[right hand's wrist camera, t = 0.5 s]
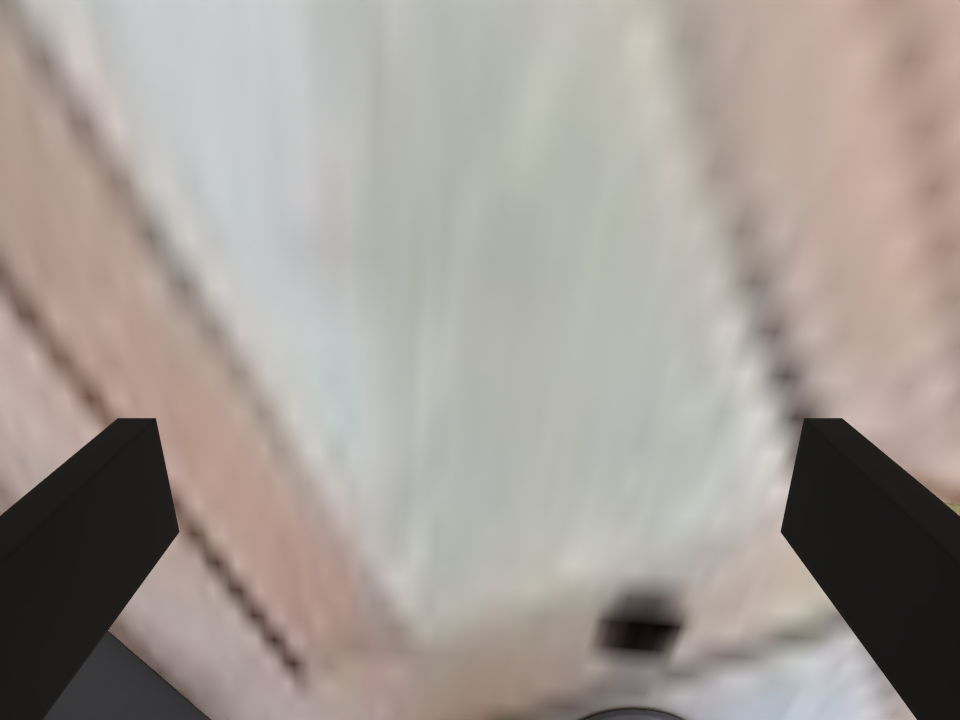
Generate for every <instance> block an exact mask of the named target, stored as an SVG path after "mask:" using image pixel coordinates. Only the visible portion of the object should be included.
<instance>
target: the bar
mask: <svg viewBox="0 0 960 720" xmlns="http://www.w3.org/2000/svg"><path fill="white" fill-rule="evenodd" d="M43 720H210V719H208V718H207V717H206V716H205V715H204V714H203V713H202V712H200V711H199V710H198V709H197V708H196V707H195V706H193V705H192V704H191V703H190V702H189V701H188V700H186V699H185V698H184V697H183V696H182V695H181V694H180V693H178V692H177V691H176V690H175V689H174V688H173V687H171V686H170V685H169V684H168V683H167V682H166V681H164V680H163V679H162V678H161V677H160V676H159V675H158V674H156V673H155V672H154V671H153V670H152V669H151V668H149V667H148V666H147V665H146V664H145V663H144V662H142V661H141V660H140V659H139V658H138V657H137V656H136V655H134V654H133V653H132V652H131V651H130V650H129V649H127V648H126V647H125V646H124V645H123V644H122V643H120V642H119V641H118V640H117V639H116V638H115V637H114V636H112V635H111V634H110V633H109V632H108V631H107V632H106V634H105V635H104V636H103V638H102V639H101V640H100V642H99V643H98V645H97V646H96V647H95V649H94V650H93V651H92V653H91V654H90V656H89V657H88V658H87V660H86V661H85V662H84V664H83V665H82V667H81V668H80V669H79V671H78V672H77V673H76V675H75V676H74V678H73V679H72V680H71V682H70V683H69V684H68V686H67V687H66V689H65V690H64V691H63V693H62V694H61V695H60V697H59V698H58V700H57V701H56V702H55V704H54V705H53V706H52V708H51V709H50V711H49V712H48V713H47V715H46V716H45V717H44V719H43Z"/></svg>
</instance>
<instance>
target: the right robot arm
mask: <svg viewBox="0 0 960 720" xmlns="http://www.w3.org/2000/svg"><path fill="white" fill-rule="evenodd" d="M178 533H179V528H178V523H177V518H176V514H175V509H174V504H173V499H172V494H171V489H170V485H169V480H168V475H167V470H166V465H165V460H164V456H163V451H162V446H161V441H160V436H159V431H158V427H157V422H156V418H118V419H117V420H115V421H114V422H113V423H112V424H111V425H109V426H108V427H107V428H106V429H104V430H103V431H102V432H101V433H100V434H98V435H97V436H96V437H95V438H94V439H92V440H91V441H90V442H89V443H88V444H86V445H85V446H84V447H83V448H82V449H80V450H79V451H78V452H77V453H76V454H74V455H73V456H72V457H71V458H69V459H68V460H67V461H66V462H65V463H63V464H62V465H61V466H60V467H59V468H57V469H56V470H55V471H54V472H53V473H51V474H50V475H49V476H48V477H47V478H45V479H44V480H43V481H42V482H41V483H39V484H38V485H37V486H36V487H35V488H33V489H32V490H31V491H30V492H28V493H27V494H26V495H25V496H24V497H22V498H21V499H20V500H19V501H18V502H16V503H15V504H14V505H13V506H12V507H10V508H9V509H8V510H7V511H6V512H4V513H3V514H2V515H1V516H0V720H43V719H44V717H45V716H46V715H47V713H48V712H49V711H50V709H51V708H52V706H53V705H54V704H55V702H56V701H57V700H58V698H59V697H60V695H61V694H62V693H63V691H64V690H65V689H66V687H67V686H68V684H69V683H70V682H71V680H72V679H73V678H74V676H75V675H76V673H77V672H78V671H79V669H80V668H81V667H82V665H83V664H84V662H85V661H86V660H87V658H88V657H89V656H90V654H91V653H92V651H93V650H94V649H95V647H96V646H97V645H98V643H99V642H100V640H101V639H102V638H103V636H104V635H105V634H106V632H107V631H108V629H109V628H110V627H111V625H112V624H113V623H114V621H115V620H116V618H117V617H118V616H119V614H120V613H121V612H122V610H123V609H124V607H125V606H126V605H127V603H128V602H129V600H130V599H131V598H132V596H133V595H134V594H135V592H136V591H137V589H138V588H139V587H140V585H141V584H142V583H143V581H144V580H145V578H146V577H147V576H148V574H149V573H150V572H151V570H152V569H153V567H154V566H155V565H156V563H157V562H158V561H159V559H160V558H161V556H162V555H163V554H164V552H165V551H166V550H167V548H168V547H169V545H170V544H171V543H172V541H173V540H174V539H175V537H176V536H177V534H178ZM781 533H782V534H783V536H784V537H785V539H786V540H787V541H788V543H789V544H790V545H791V547H792V548H793V550H794V551H795V552H796V554H797V555H798V556H799V558H800V559H801V561H802V562H803V563H804V565H805V566H806V567H807V569H808V570H809V572H810V573H811V574H812V576H813V577H814V578H815V580H816V581H817V583H818V584H819V585H820V587H821V588H822V589H823V591H824V592H825V594H826V595H827V596H828V598H829V599H830V600H831V602H832V603H833V605H834V606H835V607H836V609H837V610H838V612H839V613H840V614H841V616H842V617H843V618H844V620H845V621H846V623H847V624H848V625H849V627H850V628H851V629H852V631H853V632H854V634H855V635H856V636H857V638H858V639H859V640H860V642H861V643H862V645H863V646H864V647H865V649H866V650H867V651H868V653H869V654H870V656H871V657H872V658H873V660H874V661H875V662H876V664H877V665H878V667H879V668H880V669H881V671H882V672H883V673H884V675H885V676H886V678H887V679H888V680H889V682H890V683H891V684H892V686H893V687H894V689H895V690H896V691H897V693H898V694H899V695H900V697H901V698H902V700H903V701H904V702H905V704H906V705H907V706H908V708H909V709H910V711H911V712H912V713H913V715H914V716H915V717H916V719H917V720H960V516H959V515H958V514H957V513H956V512H954V511H953V510H952V509H951V508H950V507H948V506H947V505H946V504H945V503H944V502H942V501H941V500H940V499H939V498H938V497H936V496H935V495H934V494H933V493H932V492H930V491H929V490H928V489H927V488H925V487H924V486H923V485H922V484H921V483H919V482H918V481H917V480H916V479H915V478H913V477H912V476H911V475H910V474H909V473H907V472H906V471H905V470H904V469H903V468H901V467H900V466H899V465H898V464H897V463H895V462H894V461H893V460H892V459H891V458H889V457H888V456H887V455H886V454H884V453H883V452H882V451H881V450H880V449H878V448H877V447H876V446H875V445H874V444H872V443H871V442H870V441H869V440H868V439H866V438H865V437H864V436H863V435H862V434H860V433H859V432H858V431H857V430H856V429H854V428H853V427H852V426H851V425H849V424H848V423H847V422H846V421H845V420H843V419H842V418H804V422H803V427H802V431H801V436H800V441H799V446H798V451H797V456H796V460H795V465H794V470H793V475H792V480H791V485H790V489H789V494H788V499H787V504H786V509H785V514H784V518H783V523H782V528H781ZM584 720H681V719H679V718H676V717H674V716H671V715H668V714H665V713H661V712H656V711H649V710H637V709H636V710H618V711H611V712H606V713H602V714H598V715H595V716H592V717H589V718H587V719H584Z"/></svg>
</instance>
